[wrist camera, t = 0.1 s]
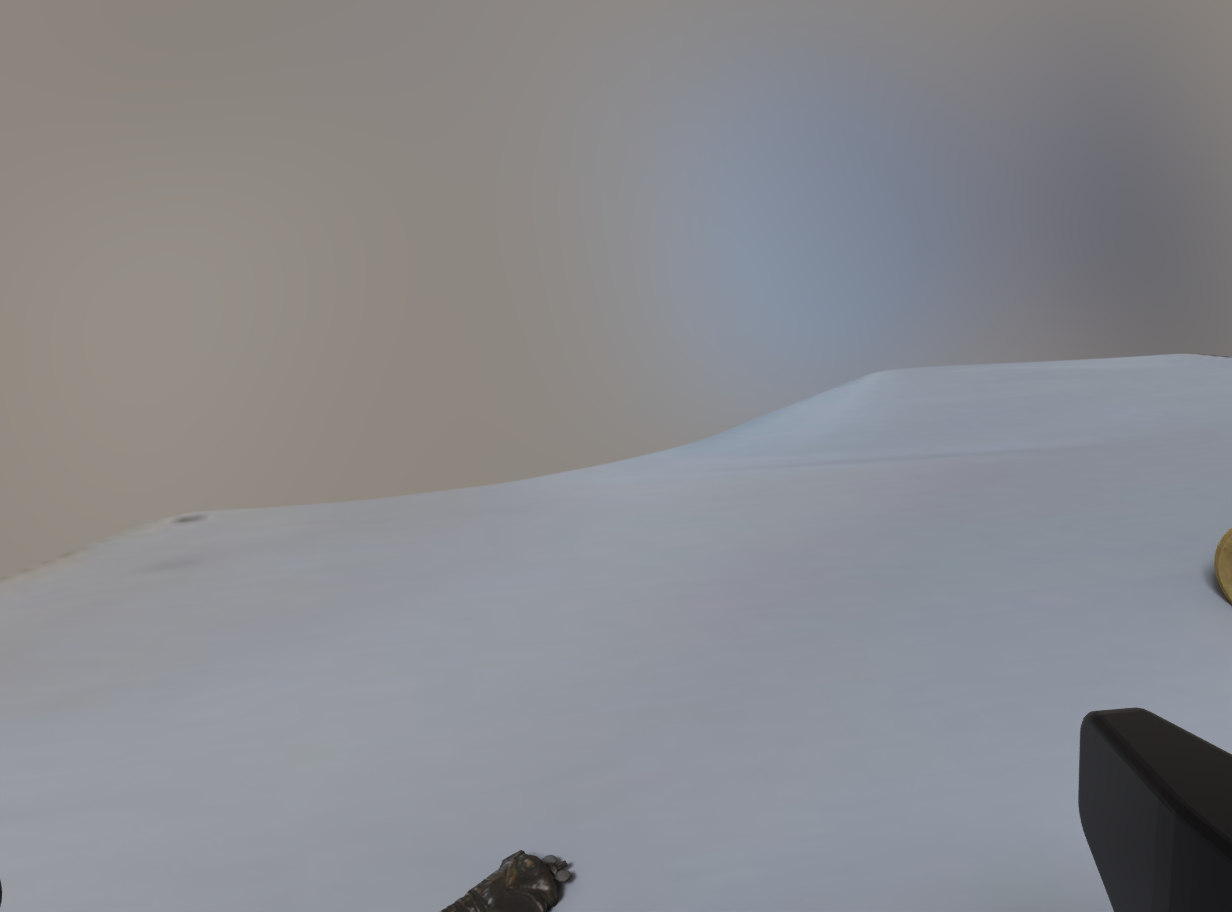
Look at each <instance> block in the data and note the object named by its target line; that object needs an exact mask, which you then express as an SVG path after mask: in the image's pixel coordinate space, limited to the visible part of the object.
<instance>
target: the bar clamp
mask: <svg viewBox="0 0 1232 912" xmlns="http://www.w3.org/2000/svg"><path fill="white" fill-rule="evenodd" d="M556 861H557V859H556V857H555V856H553V855H548V856H545V857H544V858H543V859H542V861H541V860H540V859H539V858H538V857H536V856H532V855H527V854H525V852H524V851H522V850H520V851H518V852H517V853H515V854H513V855H511V856H509V857H507V858H506V859H504V860H503V861H502V864H501V866H500V868H499V869H498V870H497V871H496V872H494V873H493V874H491V875H490V876H489V877H487V878H486V879H484V880H483V881H482V882H481V883H479V884H478V885H477V886H475V887H474V888H472V889H471V890H469V891H468V892H467V894H466V895H465V896H464V897H462V898H460V899H458V900H457V901H456V902H455V903H454V904H452V905H450V906H448V907H446V908H445V909H443V910H442V911H440V912H547V909H549V908H551V907H553V906H555V905H556V904H557V902H558V891H557V887H556V885H555V882H554V881H555V879H556V880H558V881H559V882H566V881H567V880H568V879H569V878H570V877H571V874H570V872H569V871H567V870H561V869H563V868H564V867H566V866H567V863H566V861H563V862H561V863H559V864H557V865H554V864H555V863H556ZM559 870H560V871H559ZM558 871H559V872H558Z"/></svg>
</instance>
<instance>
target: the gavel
mask: <svg viewBox="0 0 1232 912" xmlns="http://www.w3.org/2000/svg"><path fill="white" fill-rule="evenodd" d="M1214 566H1215V572H1216V577H1217V580H1218V583H1219V585H1220V588H1221V589H1222V591H1223V593H1224V594H1225V596H1226V598H1227V599H1228V600H1229V602H1230V603H1231V604H1232V528H1231V529H1230V530H1229V531H1228V532H1227V533H1226V534H1225V535H1224V536H1223V537H1222V539H1221V540H1220V542H1219V544H1218V546H1217V549H1216V553H1215V562H1214Z"/></svg>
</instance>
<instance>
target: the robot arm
mask: <svg viewBox="0 0 1232 912" xmlns="http://www.w3.org/2000/svg"><path fill="white" fill-rule="evenodd" d="M1078 804H1079V813H1080V818H1081V823H1082V827H1083V831H1084V834H1085V837H1086V839H1087V842H1088V845H1089V847H1090V850H1091V852H1092V855H1093V858H1094V860H1095V863H1096V866H1097V868H1098V871H1099V873H1100V876H1101V879H1102V881H1103V884H1104V886H1105V889H1106V892H1107V894H1108V897H1109V899H1110V902H1111V905H1112V907H1113V910H1114V912H1232V754H1230V753H1228V752H1226V751H1224V750H1222V749H1220V748H1218V747H1216V746H1215V745H1213V744H1211V743H1209V742H1207V741H1205V740H1203V739H1201V738H1199V737H1197V736H1195V735H1194V734H1192V733H1190V732H1188V731H1186V730H1184V729H1182V728H1180V727H1178V726H1176V725H1175V724H1173V723H1171V722H1169V721H1167V720H1165V719H1163V718H1161V717H1159V716H1157V715H1156V714H1154V713H1152V712H1150V711H1147V710H1145V709H1142V708H1125V709H1113V710H1101V711H1092V712H1090V713H1088V714H1087V715H1086V716H1085V717H1084V719H1083V721H1082V725H1081V730H1080V758H1079V794H1078ZM1 900H2V886H1V881H0V905H1Z"/></svg>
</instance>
